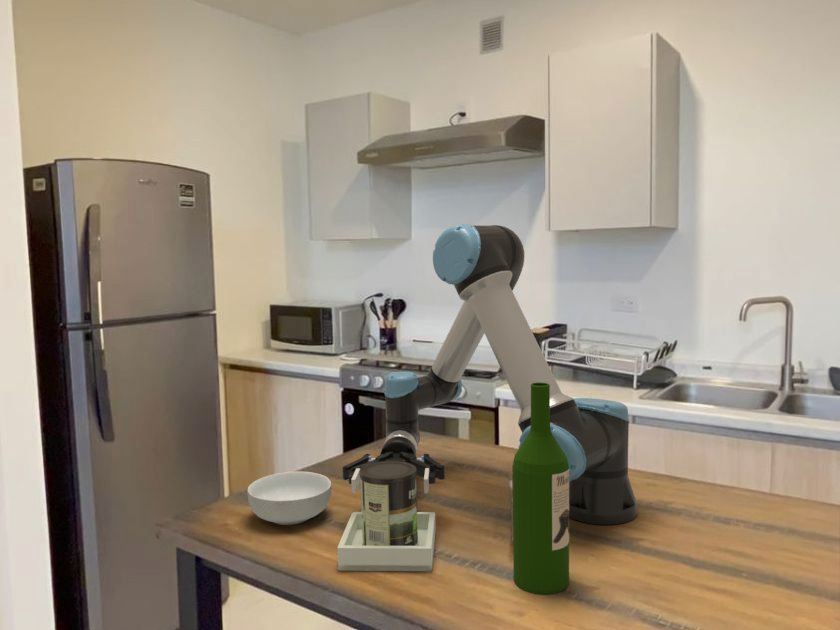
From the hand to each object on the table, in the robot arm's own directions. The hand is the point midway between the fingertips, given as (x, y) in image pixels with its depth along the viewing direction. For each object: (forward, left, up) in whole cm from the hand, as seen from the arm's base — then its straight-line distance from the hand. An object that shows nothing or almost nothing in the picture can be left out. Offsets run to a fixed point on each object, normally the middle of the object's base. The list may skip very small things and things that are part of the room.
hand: (389, 486), depth 127 cm
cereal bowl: (+22, -10, -10) cm, 26 cm away
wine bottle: (-26, +16, -10) cm, 32 cm away
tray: (0, +5, -10) cm, 11 cm away
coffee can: (0, +5, -9) cm, 11 cm away
